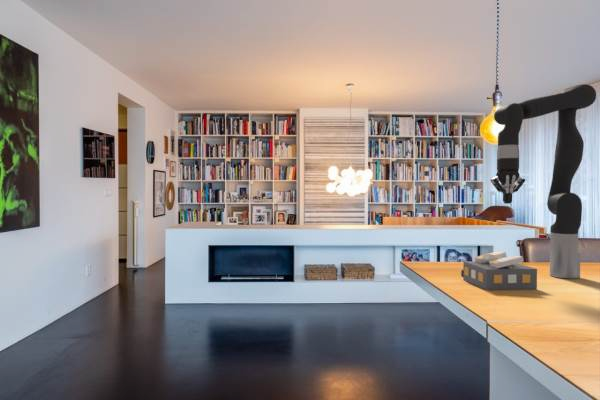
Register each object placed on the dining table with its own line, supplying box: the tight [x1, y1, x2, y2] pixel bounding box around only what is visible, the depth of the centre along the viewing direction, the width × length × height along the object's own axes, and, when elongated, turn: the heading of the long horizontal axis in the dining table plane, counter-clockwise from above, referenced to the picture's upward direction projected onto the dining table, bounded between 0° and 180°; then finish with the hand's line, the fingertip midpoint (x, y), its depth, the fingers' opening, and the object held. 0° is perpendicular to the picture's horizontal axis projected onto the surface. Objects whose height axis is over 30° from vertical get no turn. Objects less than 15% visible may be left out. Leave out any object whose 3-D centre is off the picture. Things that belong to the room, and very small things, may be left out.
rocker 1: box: [482, 252, 515, 266], centre depth 144 cm, size 10×4×2 cm, turn 94°
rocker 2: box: [489, 254, 525, 269], centre depth 139 cm, size 10×4×2 cm, turn 94°
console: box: [462, 260, 538, 291], centre depth 144 cm, size 18×16×8 cm
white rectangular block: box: [474, 250, 508, 264], centre depth 149 cm, size 10×4×2 cm, turn 94°
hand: (507, 203), depth 153 cm, fingers closed
